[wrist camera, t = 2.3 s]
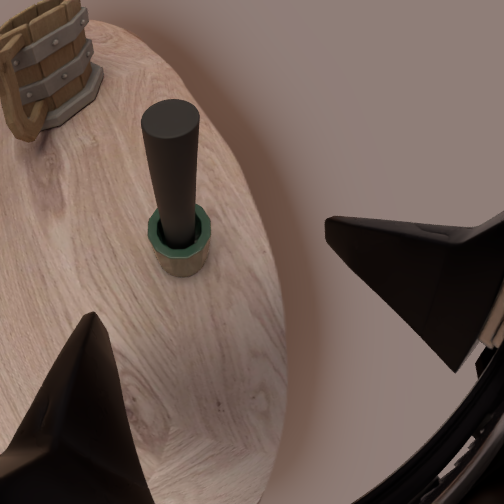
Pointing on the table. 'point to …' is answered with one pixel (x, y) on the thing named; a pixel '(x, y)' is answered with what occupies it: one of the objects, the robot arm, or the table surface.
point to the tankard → (46, 67)
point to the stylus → (173, 166)
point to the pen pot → (181, 259)
